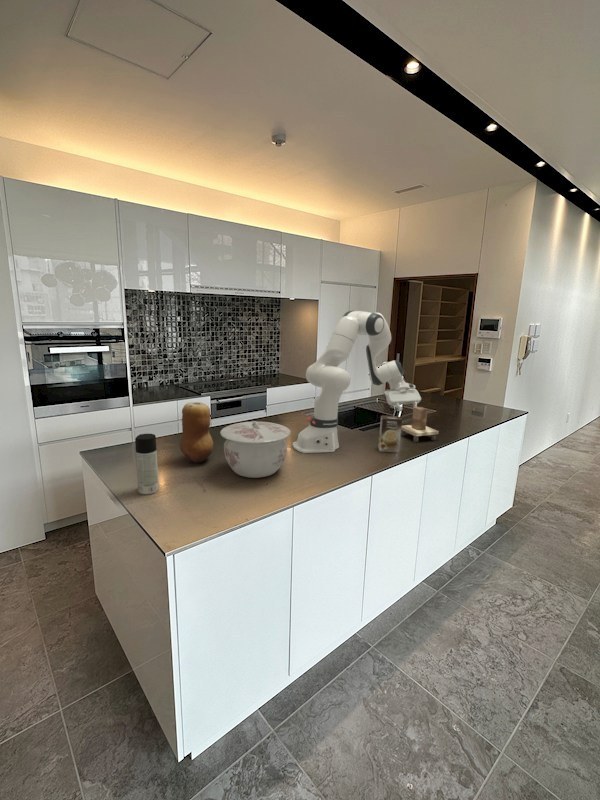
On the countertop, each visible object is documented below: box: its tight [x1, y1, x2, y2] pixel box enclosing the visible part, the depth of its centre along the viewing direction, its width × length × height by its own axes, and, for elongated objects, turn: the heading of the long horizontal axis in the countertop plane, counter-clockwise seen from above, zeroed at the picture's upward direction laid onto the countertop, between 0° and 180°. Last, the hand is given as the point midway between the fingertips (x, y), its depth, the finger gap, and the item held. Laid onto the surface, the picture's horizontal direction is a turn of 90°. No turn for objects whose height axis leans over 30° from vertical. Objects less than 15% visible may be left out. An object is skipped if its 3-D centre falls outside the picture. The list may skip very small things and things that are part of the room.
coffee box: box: [377, 414, 403, 453], centre depth 181 cm, size 9×6×16 cm
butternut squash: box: [179, 401, 214, 464], centre depth 160 cm, size 14×13×25 cm
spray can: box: [134, 433, 160, 495], centre depth 132 cm, size 7×7×20 cm
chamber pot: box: [219, 420, 292, 479], centre depth 152 cm, size 28×28×21 cm
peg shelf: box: [400, 424, 439, 443], centre depth 202 cm, size 14×14×5 cm
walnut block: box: [411, 406, 428, 430], centre depth 201 cm, size 5×5×11 cm
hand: (408, 410), depth 209 cm, fingers open, 8 cm apart
